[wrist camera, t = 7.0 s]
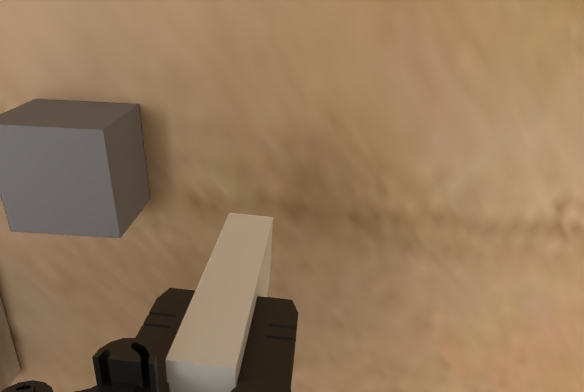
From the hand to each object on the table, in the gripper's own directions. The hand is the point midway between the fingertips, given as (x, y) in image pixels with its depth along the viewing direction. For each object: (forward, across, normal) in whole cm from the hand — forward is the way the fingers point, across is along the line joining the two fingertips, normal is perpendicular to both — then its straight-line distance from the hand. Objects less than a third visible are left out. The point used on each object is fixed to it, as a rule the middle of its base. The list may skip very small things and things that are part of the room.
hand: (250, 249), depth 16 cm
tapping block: (+7, -9, 0) cm, 12 cm away
